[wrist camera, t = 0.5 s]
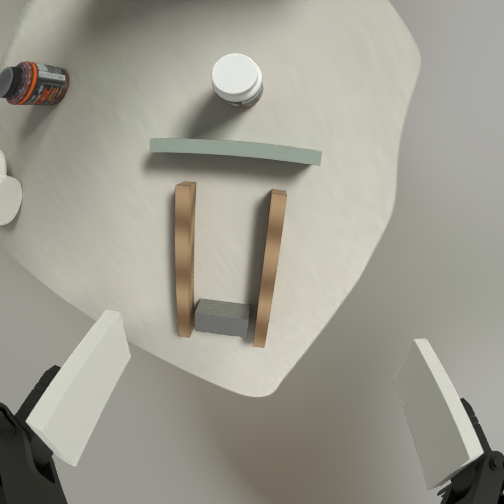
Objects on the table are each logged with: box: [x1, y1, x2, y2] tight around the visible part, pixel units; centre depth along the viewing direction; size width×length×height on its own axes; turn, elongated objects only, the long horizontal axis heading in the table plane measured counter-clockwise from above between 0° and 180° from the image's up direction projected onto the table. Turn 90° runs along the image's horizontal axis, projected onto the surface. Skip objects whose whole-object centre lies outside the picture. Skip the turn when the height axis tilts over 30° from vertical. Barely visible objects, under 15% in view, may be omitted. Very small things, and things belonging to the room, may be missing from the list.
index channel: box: [175, 182, 287, 348], centre depth 35 cm, size 21×12×3 cm, turn 175°
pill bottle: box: [211, 54, 263, 108], centre depth 24 cm, size 5×5×8 cm
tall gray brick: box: [195, 299, 250, 337], centre depth 37 cm, size 3×7×4 cm, turn 85°
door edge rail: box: [150, 138, 322, 166], centre depth 29 cm, size 2×18×4 cm, turn 84°
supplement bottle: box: [0, 62, 69, 105], centre depth 22 cm, size 6×6×11 cm
